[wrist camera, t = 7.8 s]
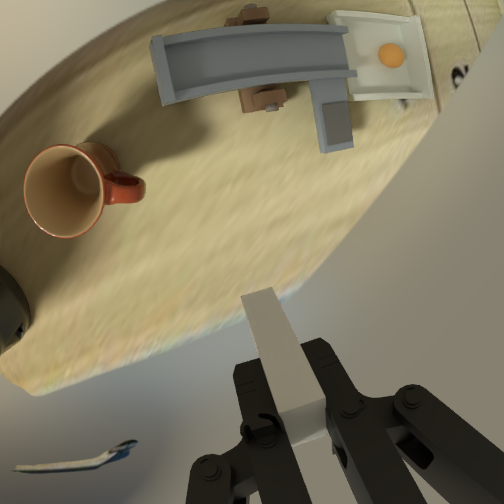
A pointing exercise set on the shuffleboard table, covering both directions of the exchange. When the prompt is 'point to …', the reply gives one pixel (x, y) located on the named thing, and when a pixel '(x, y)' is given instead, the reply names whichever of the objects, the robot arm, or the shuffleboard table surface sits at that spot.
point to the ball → (391, 55)
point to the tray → (369, 65)
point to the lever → (261, 68)
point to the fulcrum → (261, 95)
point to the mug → (76, 187)
